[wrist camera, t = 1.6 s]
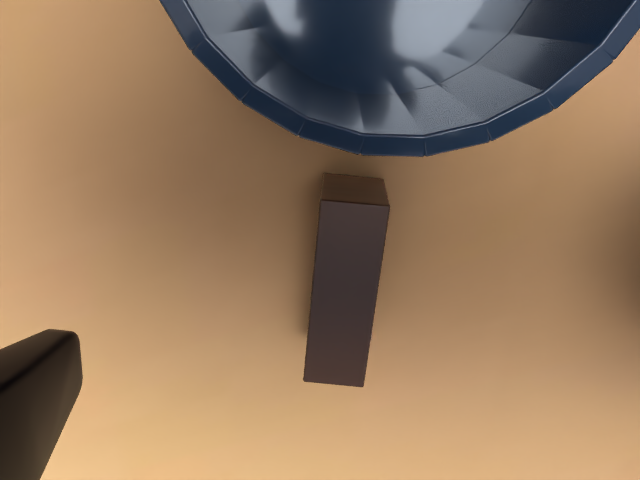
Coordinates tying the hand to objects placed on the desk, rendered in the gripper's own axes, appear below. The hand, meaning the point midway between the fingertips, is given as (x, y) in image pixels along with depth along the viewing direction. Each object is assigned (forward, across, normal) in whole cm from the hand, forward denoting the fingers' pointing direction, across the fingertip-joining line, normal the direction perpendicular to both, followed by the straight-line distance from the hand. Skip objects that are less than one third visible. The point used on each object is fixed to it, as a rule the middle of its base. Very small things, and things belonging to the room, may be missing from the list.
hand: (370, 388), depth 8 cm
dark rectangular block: (+12, 0, +4) cm, 13 cm away
